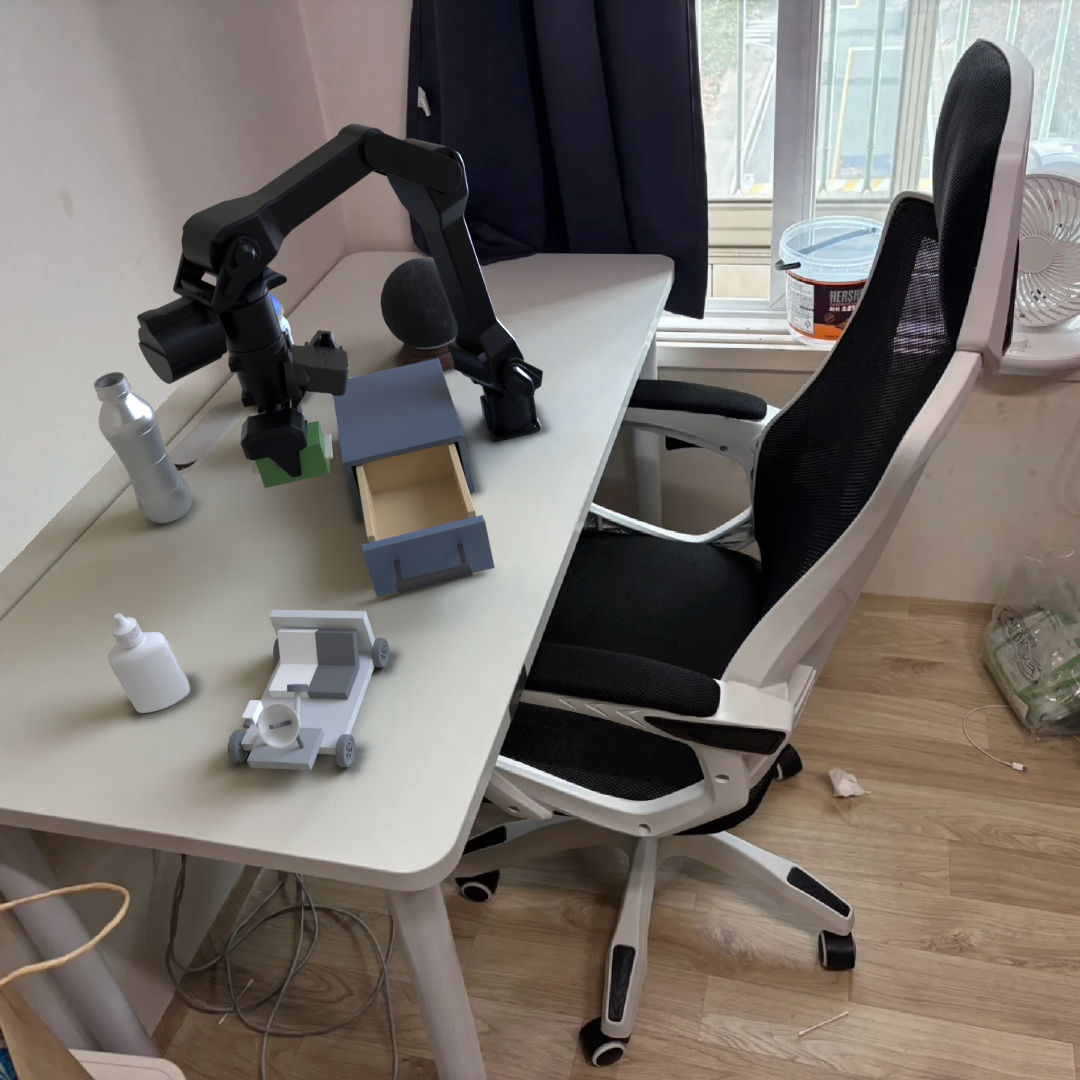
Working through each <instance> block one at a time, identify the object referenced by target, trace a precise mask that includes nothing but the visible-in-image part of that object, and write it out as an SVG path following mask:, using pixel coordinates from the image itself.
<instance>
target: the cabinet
mask: <svg viewBox="0 0 1080 1080" xmlns="http://www.w3.org/2000/svg"><path fill="white" fill-rule="evenodd" d="M332 397H333V404H334V411H335V412H334V413H335V418H336V426H337V432H338V433H337V434H338V440H339V446H340V447H339V448H340V453H341V460H342V465H343V468H344V472H345V476H346V478H347V481H348V484H349V488H350V490H351V491H350V492H351V495H352V498H353V501H354V503H355V507H356V510H357V514H358V517H359V519H360V520H362V519H363V520H364V515H363V509H362V503H361V496H360V490H359V484H358V478H357V471H356V465H360V464H364V463H368V462H372V461H376V460H381V459H385V458H389V457H393V456H398V455H402V454H406V453H410V452H415V451H419V450H423V449H427V448H432V447H436V446H440V445H444V444H448V443H453V442H454V444H455V448H456V451H457V454H458V457H459V461H460V464H461V467H462V470H463V473H464V477H465V480H466V483H467V486H468V490H469V493H470V494H471V493H474V492H476V487H475V483H474V478H473V473H472V469H471V464H470V459H469V455H468V454H469V453H468V449H467V445H466V444H467V443H466V440H465V434H464V431H463V428H462V426H461V422H460V420H459V416H458V413H457V410H456V407H455V405H454V401H453V398H452V394H451V391H450V389H449V385H448V382H447V379H446V377H445V374H444V371H443V370H442V367H441V364H440V361H439V358H437V359H432V360H428V361H423V362H419V363H415V364H410V365H406V366H402V365H401V366H397V367H393V368H388V369H384V370H379V371H376V372H372V373H366V374H361V375H357V376H354V377H349V378H347V386H346V393H345V394H344V395H342V396H333V395H332Z"/></svg>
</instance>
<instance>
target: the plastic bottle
mask: <svg viewBox="0 0 1080 1080" xmlns="http://www.w3.org/2000/svg"><path fill="white" fill-rule="evenodd" d="M93 388H94V390H95V392H96V397H97V398H98V401H99V402H101V403H102V404H101V407H100V410H99V414H98V427H99V431H100V432H101V433H102V436H103V437H104V438H105V440H106V441H107V443H108V444H109V445H110V446H111V448H112V449H113V451H114V452H115V453H116V455H117V457H118V459H119V460H120V462H121V464H122V465H123V468H124V469H125V471H126V472H127V475H128V478H129V480H130V483H131V485H132V488H133V490H134V495H135V500H136V503H137V506H138V508H139V511H140V512H141V513H142V515H143V516H144V517H145V518H146V519H148V520H149V521H151V522H153V523H156V524H167V523H171V522H174V521H177V520H178V519H180V518H182V517H183V516H185V515H186V514H187V513H188V512H189V511H190V509H191V506H192V502H193V495H192V491H191V488H190V486H189V483H188V482H187V481H186V479H185V478H184V477H183V476H182V474H181V473H180V472H179V470H178V468H177V467H176V465H175V463H174V461H173V460H172V458H171V456H170V454H169V452H168V449H167V447H166V444H165V442H164V439H163V437H162V433H161V430H160V425H159V422H158V419H157V415H156V413H155V410H154V407H153V406H152V405H151V404H150V403H149V402H148V401H147V400H146V399H144V398H143V397H142V396H140V395H138V394H136V393H134V392H132V390H133V389H132V386H131V384H130V382H129V381H128V378H127V377H126V375H125V373H123V372H121V371H113V372H109V373H106V374H103V375H101V376H100V377H98V378H96V380H95V381H94V382H93Z"/></svg>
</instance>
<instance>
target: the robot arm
mask: <svg viewBox="0 0 1080 1080" xmlns="http://www.w3.org/2000/svg"><path fill="white" fill-rule="evenodd" d="M372 173H375V174H379V175H381V176H384V177H386V178H387V181H388V182H389V185H390V186H391V188H392V190H393V192H394V193H395V195H396V197H397V199H398V200H399V202H400V204H401V205H402V206H403V208H405V210H406V211H407V212H408V213H409V214H410V215H411V216H412V217H413V218H414V219H415V221H416V222H417V223H418V224H419V225H420V227H421V229H422V231H423V234H424V237H425V239H426V242H427V245H428V247H429V250H430V254H431V256H432V259H434V262H435V265H436V267H437V270H438V273H439V276H440V278H441V281H442V284H443V287H444V290H445V292H446V295H447V298H448V301H449V303H450V306H451V309H452V312H453V314H454V317H455V320H456V323H457V326H458V331H457V335H456V338H455V341H454V342H452V343H451V344H449V345H448V350H449V352H450V354H451V355H452V357H453V361H454V368H453V370H454V371H457V372H459V373H461V374H462V375H463V376H464V377H466V378H468V379H470V380H471V383H472V384H474V385H478V386H480V387H481V388H482V395H480V396H479V402H480V406H481V411H482V417H483V421H484V424H485V427H486V430H487V431H488V432H490V433H491V435H492V438H493V440H494V441H495V442H497V441H498V442H499V441H502V440H507V439H510V438H516V437H520V436H523V435H527V434H531V433H535V432H540V431H541V430H542V425H541V423H540V421H539V418H538V414H537V408H536V401H535V395H536V394H535V393H536V390H538V389H539V388H541V387H542V383H543V375H544V371H543V370H542V369H540V368H538V367H536V366H534V365H532V364H530V363H528V362H526V361H525V357H524V354H523V352H522V350H521V348H520V346H519V345H518V344H519V343H517V340H516V339H515V338H514V336H513V335H512V334H511V333H510V332H509V330H508V329H506V328H505V326H504V325H503V324H502V323H501V322H500V321H499V319H498V318H497V316H496V312H495V309H494V306H493V303H492V300H491V297H490V294H489V293H490V292H489V290H488V288H487V284H486V281H485V278H484V275H483V271H482V269H481V265H480V263H479V259H478V257H477V254H476V251H475V248H474V245H473V241H472V238H471V234H470V232H469V229H468V226H467V223H466V220H465V210H466V206H467V202H468V198H469V187H468V182H467V175H466V170H465V164H464V160H463V159H462V157H461V154H460V153H459V152H458V151H457V150H455V149H454V148H452V147H449V146H447V145H442V144H438V143H433V142H429V141H424V140H420V139H416V138H403V139H401V138H398V137H396V136H392V135H390V134H388V133H385V132H384V131H383V130H382V129H380V128H377V127H373V126H368V125H363V124H359V123H350V124H347V125H346V126H343V127H341V129H340V130H339V131H338V133H337V135H335V136H334V137H333V138H331V139H329V140H328V141H327V142H325V143H324V144H323V145H320V147H318V148H317V149H315V150H313V151H312V152H311V153H309V154H308V155H306V156H305V157H304V158H303V159H301V160H299V161H298V162H297V163H295V164H294V165H292V166H291V167H289V168H288V169H287V170H285V171H284V172H282V173H281V174H279V175H278V176H277V177H275V178H273V179H272V180H271V181H270V182H268V183H266V184H265V185H264V186H262V187H261V188H259V189H257V191H254V192H252V193H250V194H248V195H245V196H244V195H243V196H241V197H236V198H232V199H231V198H230V199H228V200H224V201H220V202H217V203H216V204H213V205H211V206H209V207H207V208H204V209H202V210H199V211H198V212H196V213H194V214H192V215H191V216H190V217H189V218H188V219H187V220H186V221H185V223H184V224H183V226H182V228H181V229H182V235H181V239H180V240H181V255H180V259H179V263H178V267H177V271H176V275H175V280H174V283H173V287H172V291H173V292H174V293H175V294H177V295H178V296H181V297H178V298H177V299H174V300H172V301H171V302H168V303H166V304H164V305H162V306H160V307H159V306H158V307H157V308H152V309H148V310H145V311H143V312H141V313H139V314H137V316H136V319H137V321H138V324H139V326H140V327H139V328H138V330H137V335H138V340H139V342H138V347H139V349H140V351H141V353H142V356H143V357H144V359H145V360H146V362H147V364H148V366H149V367H150V368H151V369H152V371H153V372H154V374H156V375H155V376H157V377H158V378H159V379H160V380H161V381H162V382H164V383H165V384H167V385H171V384H173V383H175V382H177V381H179V380H181V379H183V378H185V377H187V376H190V375H192V374H193V373H195V372H197V371H199V370H201V369H202V368H203V369H204V367H207V366H208V365H210V364H213V363H214V362H217V361H219V360H220V359H222V357H223V355H225V354H226V353H228V362H227V365H228V368H229V371H230V373H235V375H236V377H237V380H238V383H239V385H240V388H241V393H240V394H241V395H240V400H241V403H242V406H243V408H248V407H253V406H254V407H255V408H256V414H254V415H250V416H249V415H248V416H247V417H246V419H245V420H244V422H243V423H242V425H241V430H240V431H241V432H240V446H241V449H242V451H243V454H244V457H245V459H246V460H248V461H251V462H252V461H253V460H258V459H262V458H267V457H269V458H270V459H271V460H272V461H274V462H275V463H276V464H277V465H278V466H279V467H281V468H282V469H283V470H284V471H285V472H286V473H287V474H289V475H290V476H291V477H293V478H294V477H299V476H301V475H302V470H301V461H300V453H299V451H300V450H303V449H304V448H306V447H307V446H308V438H307V432H308V430H307V423H308V419H306V420H304V417H303V414H302V413H301V412H299V411H298V405H299V403H301V402H302V400H303V399H304V397H305V395H306V394H307V392H311V393H321V394H330V395H331V396H332V397H333V396H342V395H344V394H345V393H346V386H347V379H348V376H349V368H350V366H349V363H350V362H349V355H348V351H347V350H345V349H344V346H343V345H339V347H338V345H337V342H336V340H335V337H334V335H333V333H332V331H331V330H321V329H318V330H317V331H316V333H315V334H314V335H313V336H312V337H311V339H310V340H309V341H304V345H297V344H295V343H294V344H292V342H291V339H290V336H289V334H288V335H286V332H285V331H283V332H282V330H281V327H280V324H279V321H278V317H277V314H276V311H275V308H274V305H273V302H272V299H271V296H270V293H271V292H270V291H272V290H274V289H276V288H278V287H280V286H282V285H284V284H286V283H287V281H288V277H287V276H286V275H285V274H281V273H279V272H276V271H275V270H273V269H271V268H270V267H269V266H268V265H270V264H271V262H273V260H274V259H275V258H276V257H277V256H278V254H279V251H280V249H281V247H282V244H283V242H284V240H285V238H287V237H288V235H289V234H290V233H291V232H292V231H293V230H294V229H296V228H298V226H300V225H302V224H303V223H304V222H306V221H307V220H308V219H310V218H312V216H314V215H315V214H316V213H318V212H320V211H321V209H323V208H325V207H326V206H328V205H329V204H330V203H332V202H333V201H334V200H336V199H337V198H339V197H340V196H342V195H343V194H344V193H345V192H347V191H348V190H350V189H351V188H352V187H354V186H355V185H356V184H358V183H359V182H361V181H362V180H363V179H365V178H366V177H367V176H369V175H370V174H372ZM205 274H207V275H210V276H212V277H213V278H215V279H216V278H217V282H216V281H215V282H216V283H215V285H214V284H212V283H210V282H207V281H205V280H203V277H204V276H205ZM269 292H270V293H269ZM306 391H307V392H306Z"/></svg>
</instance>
